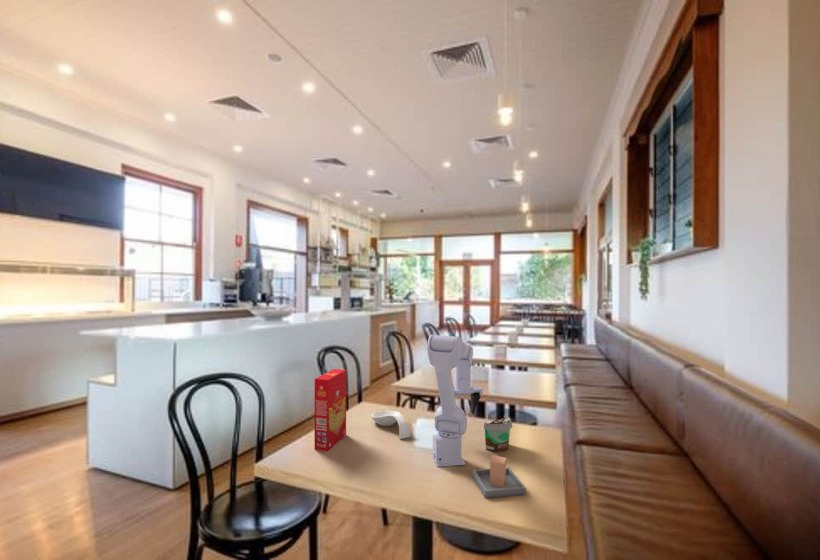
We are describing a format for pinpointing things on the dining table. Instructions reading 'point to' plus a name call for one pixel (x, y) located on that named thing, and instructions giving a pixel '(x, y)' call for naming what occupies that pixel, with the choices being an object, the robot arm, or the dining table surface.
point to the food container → (498, 434)
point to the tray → (483, 481)
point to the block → (498, 471)
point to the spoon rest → (392, 421)
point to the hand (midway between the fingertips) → (462, 413)
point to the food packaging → (330, 409)
